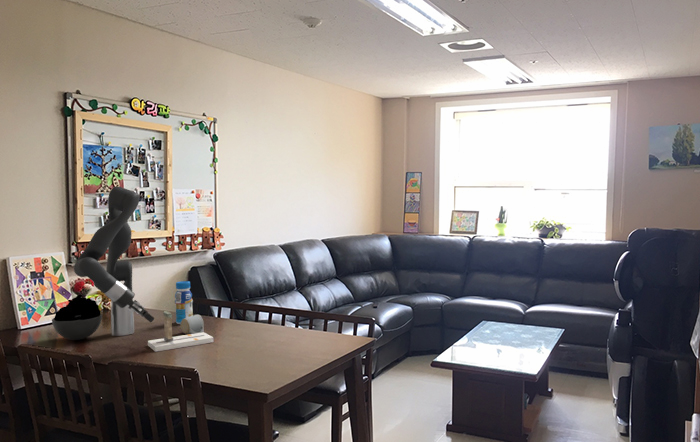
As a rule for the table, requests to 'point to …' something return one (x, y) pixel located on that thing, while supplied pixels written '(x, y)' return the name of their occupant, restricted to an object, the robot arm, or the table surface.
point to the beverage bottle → (183, 301)
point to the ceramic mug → (192, 324)
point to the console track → (180, 341)
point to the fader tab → (168, 326)
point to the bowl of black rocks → (77, 318)
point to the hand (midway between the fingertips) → (152, 320)
